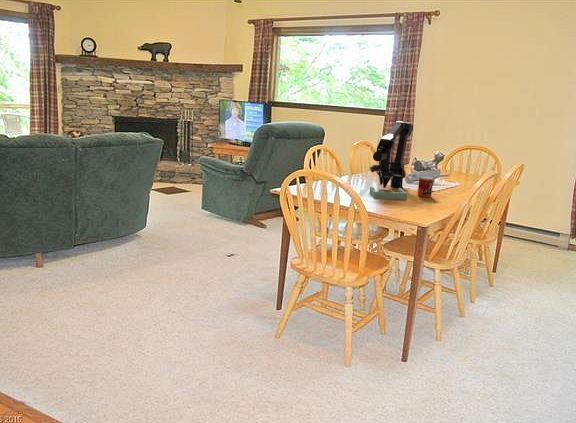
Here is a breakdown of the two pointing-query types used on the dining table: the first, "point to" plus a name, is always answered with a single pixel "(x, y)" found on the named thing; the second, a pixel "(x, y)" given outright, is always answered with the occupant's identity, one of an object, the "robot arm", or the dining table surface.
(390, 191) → the tan wooden block
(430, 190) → the canned food
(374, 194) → the box
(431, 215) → the dining table surface
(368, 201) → the dining table surface
